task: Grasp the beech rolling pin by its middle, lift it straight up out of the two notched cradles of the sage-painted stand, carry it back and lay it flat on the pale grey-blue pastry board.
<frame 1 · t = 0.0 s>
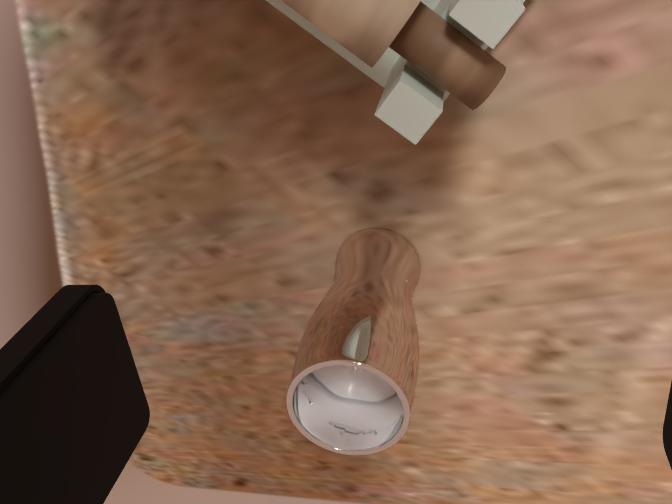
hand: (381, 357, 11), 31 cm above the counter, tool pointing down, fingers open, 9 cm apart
beer glass: (378, 263, 46), on the counter
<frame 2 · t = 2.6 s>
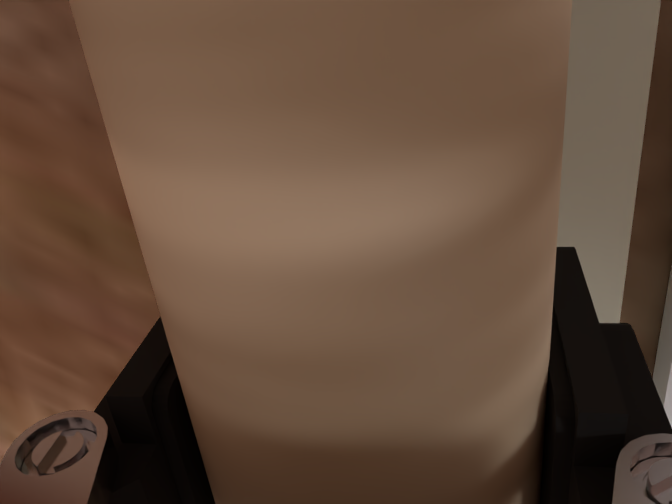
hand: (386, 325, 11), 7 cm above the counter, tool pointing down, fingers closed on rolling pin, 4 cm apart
rolling pin: (438, 331, 11), point 7 cm above the counter, tilted 22°, touching gripper, pin stand
pin stand: (420, 176, 17), on the counter
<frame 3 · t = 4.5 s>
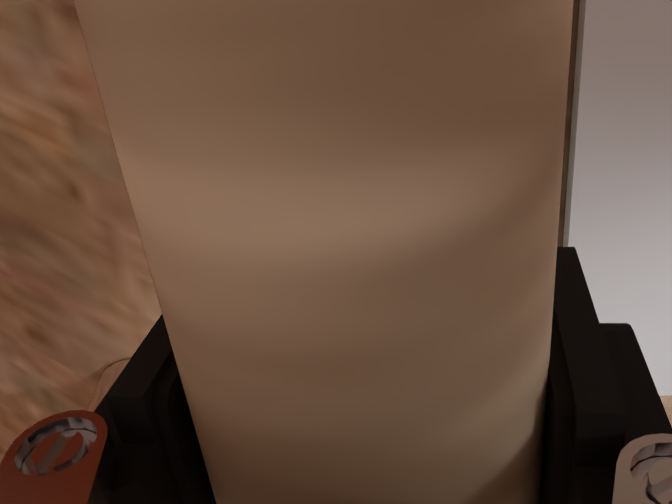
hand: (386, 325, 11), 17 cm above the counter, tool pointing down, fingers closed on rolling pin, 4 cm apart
rolling pin: (438, 331, 11), point 17 cm above the counter, tilted 24°, touching gripper
beer glass: (150, 396, 37), on the counter
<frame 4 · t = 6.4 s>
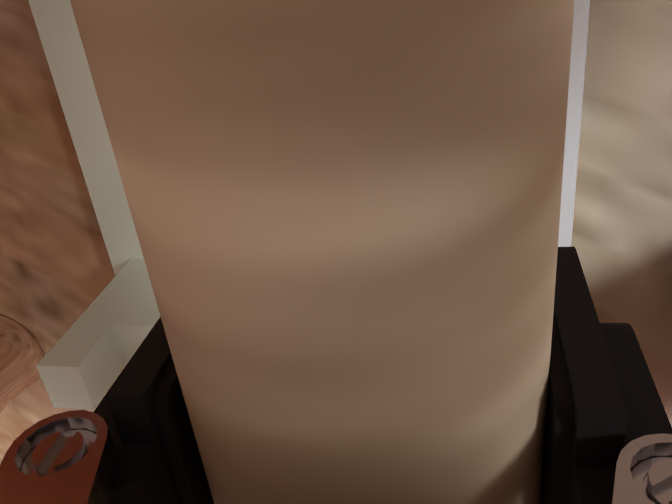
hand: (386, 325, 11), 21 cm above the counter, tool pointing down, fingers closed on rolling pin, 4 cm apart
rolling pin: (438, 334, 11), point 21 cm above the counter, tilted 23°, touching gripper
pin stand: (164, 79, 32), on the counter
beer glass: (4, 347, 43), on the counter
pastry board: (430, 60, 29), on the counter
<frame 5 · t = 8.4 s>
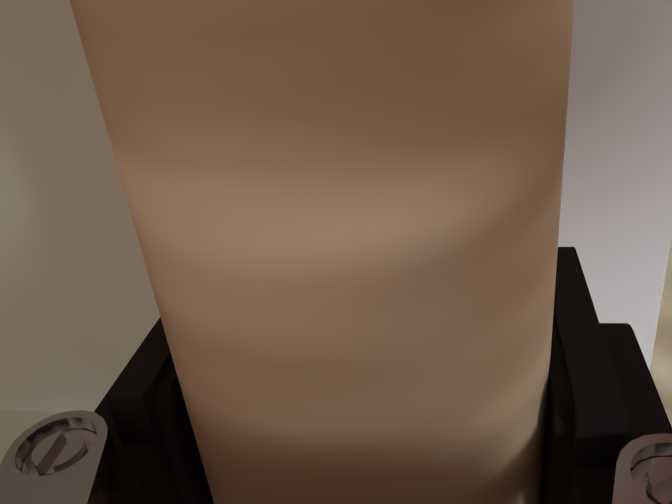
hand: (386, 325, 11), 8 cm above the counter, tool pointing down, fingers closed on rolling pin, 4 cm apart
rolling pin: (438, 335, 11), point 8 cm above the counter, tilted 22°, touching gripper
pin stand: (21, 167, 21), on the counter
pastry board: (423, 151, 18), on the counter
when the fingers open (3 cm above the counter, at t = 10.0 s): rolling pin drops 1 cm, resting on pastry board.
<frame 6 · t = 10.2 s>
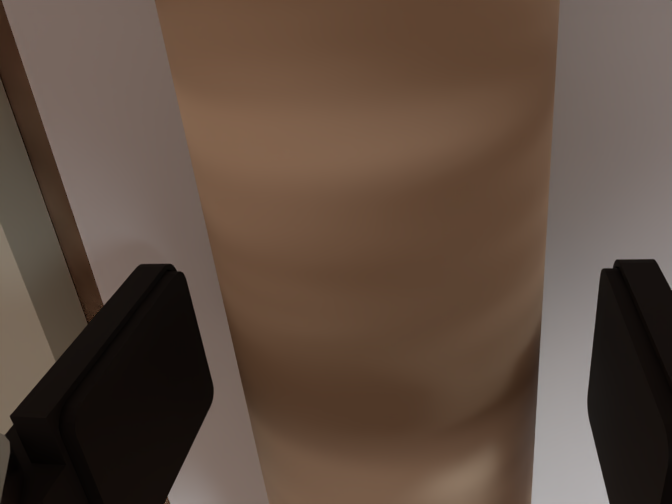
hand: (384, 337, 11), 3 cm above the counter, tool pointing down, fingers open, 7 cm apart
rolling pin: (446, 282, 12), point 1 cm above the counter, tilted 23°, touching pastry board
pastry board: (398, 252, 14), on the counter
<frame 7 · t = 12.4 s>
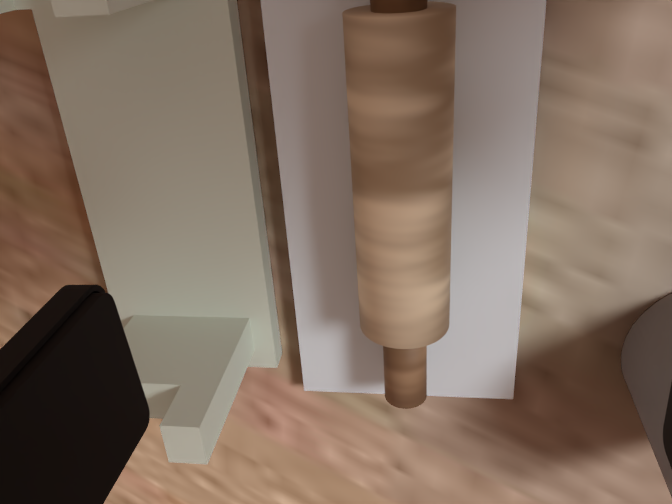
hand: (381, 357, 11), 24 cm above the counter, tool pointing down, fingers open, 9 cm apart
rolling pin: (422, 168, 33), point 1 cm above the counter, tilted 23°, touching pastry board
pin stand: (171, 163, 36), on the counter
pastry board: (403, 160, 34), on the counter
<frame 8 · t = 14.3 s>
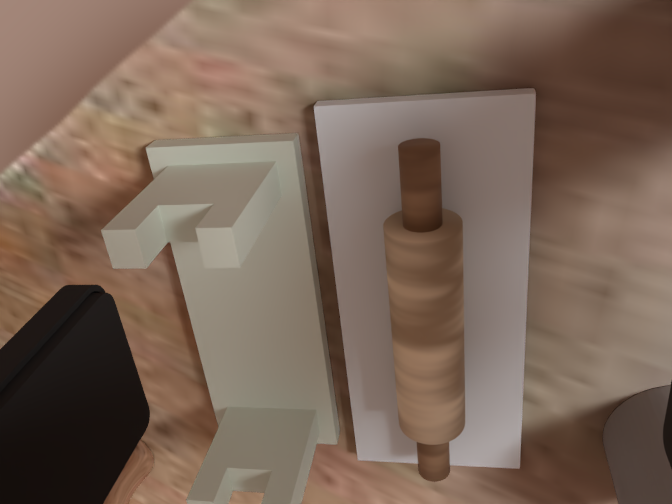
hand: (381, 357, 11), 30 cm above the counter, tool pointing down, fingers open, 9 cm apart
rolling pin: (444, 312, 44), point 1 cm above the counter, tilted 27°, touching pastry board
pin stand: (257, 301, 48), on the counter
beer glass: (124, 451, 60), on the counter
pastry board: (430, 301, 46), on the counter
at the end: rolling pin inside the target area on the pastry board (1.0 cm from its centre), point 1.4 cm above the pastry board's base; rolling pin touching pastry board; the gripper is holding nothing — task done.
